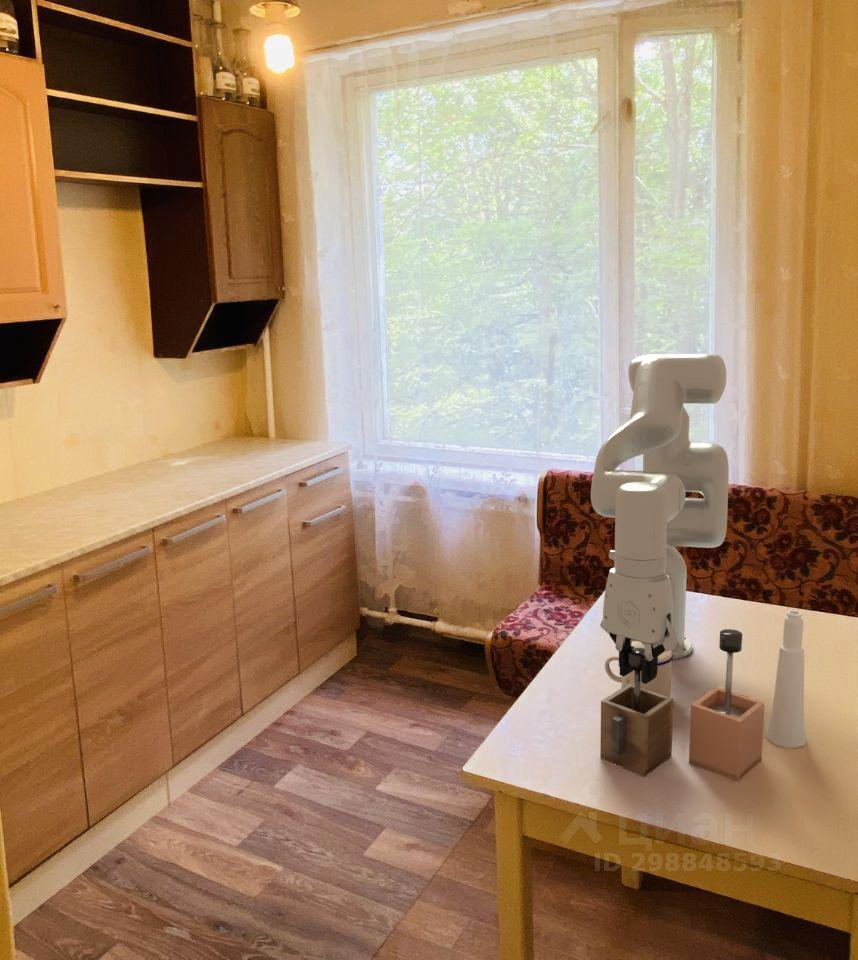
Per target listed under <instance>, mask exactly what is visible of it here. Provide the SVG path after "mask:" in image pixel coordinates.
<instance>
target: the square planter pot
mask: <svg viewBox="0 0 858 960" xmlns="http://www.w3.org/2000/svg"><path fill="white" fill-rule="evenodd" d="M715 705H725V689H724V688H720V687H718V686H715V687H714V688H713V689H711V690H709V692H707V693H706V694H704V695H703V696H701V697H700V698H699V699H697V700H696V701H694V702H693V703H691V704H690V717H689V718H690V722H689V747H688V748H689V749H688V750H689V751H688V764H690V765H692V766H694V767H698V768H700V769H702V770H704V771H707V772H710V773H712V774H715V775H717V776H719V777H723V778H725V779H728V780H730V781H731V782H736V783H739V782H740V781H741V780H742V779H743V778H744V777H745V776H747V774H749V773H750V772H751V771H752V770H753V769H754V768H755V767H756V766H757V765H758V764H760V763H761V762H762V756H763V755H762V753H763V738H764V721H765V718H764V717H765V706H766V705H765V702H764V701H760V700H758V699H754V698H751V697H749V696H746V695H745V694H744V695H743V694H739V693H736V692H734V691H731V705H732V706H735V707H738V708H740V709H742V710H743V711H745V713H744V714H743V715H741V716H740V717H739V718H735V717H733V716H730V715H727V714H724V713H721V712H718V711H715V710H712V709H709V708H710V707H712V706H715Z"/></svg>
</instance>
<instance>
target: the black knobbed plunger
mask: <svg viewBox="0 0 858 960" xmlns="http://www.w3.org/2000/svg"><path fill="white" fill-rule="evenodd" d="M718 644H719V647H718V648H719V650H721V651H723V652H724V653H726V664H725V666H726V668H725V669H726V670H725V689H724V690H725V705H715V706H712V707H710V708H709V709H712V710H715V711H718V712H721V713H724V714H727V715H730V716H733V717H735V718H739V717H740V716H741V715H743V714H744V713H745V711H743V710H742V709H740V708H738V707H735V706H732V705H731V692H733V690H732V689H733V687H732V686H733V672H734V671H733V669H734V664H733V663H734V654H735V653H739V652H740V653H741V651H742V649H743V648H742V647H743V633H742V632H741V631H739V630H737V629H730V628H729V629H722V630H720V631H719V643H718Z"/></svg>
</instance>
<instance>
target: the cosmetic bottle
mask: <svg viewBox="0 0 858 960" xmlns="http://www.w3.org/2000/svg"><path fill="white" fill-rule="evenodd" d="M802 616H803V613H802V612H801V611H800V610H799V611H798V610H793V609H792V610H791V609H790V610H788V611H786V616H785V618H784V622H783V635H782V636H783V637H782V638H783V639H782V643H781V645H779V651H778V658H777V659H778V660H777V667H776V668H777V669H776V677H775V685H774V694H773V700H772V708H771V712H770V713H771V714H770V719H769V722H768V727H767V731H766V734H765V736H766V738H767V740H768V741H769V742H771V744H774V745H777V746H779V747H782V748H786V749H797V748H801V747H803V746H805V745H806V743H807V736H806V727H805V707H804V706H805V705H804V704H805V696H804V695H805V648H804V647H803V646H802V645H803V634H804V633H803V632H804V619H803V618H802Z"/></svg>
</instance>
